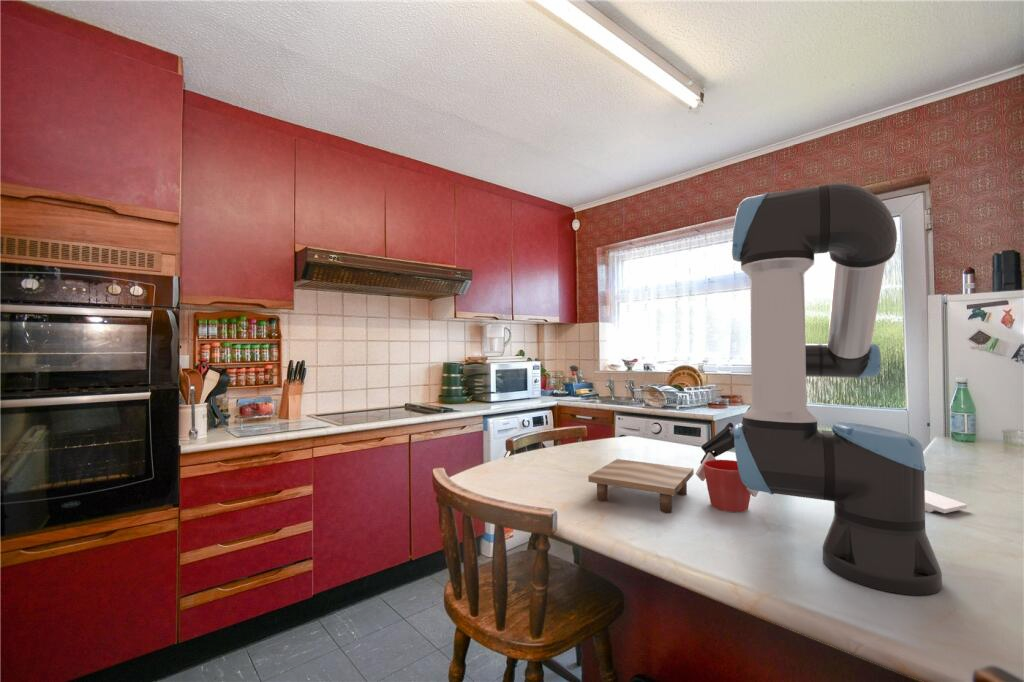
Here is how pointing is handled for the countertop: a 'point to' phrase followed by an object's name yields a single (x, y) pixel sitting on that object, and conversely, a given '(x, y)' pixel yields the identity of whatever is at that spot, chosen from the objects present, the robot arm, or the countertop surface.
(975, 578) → the countertop surface
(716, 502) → the flower pot
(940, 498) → the wall bracket
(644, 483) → the walnut stool
